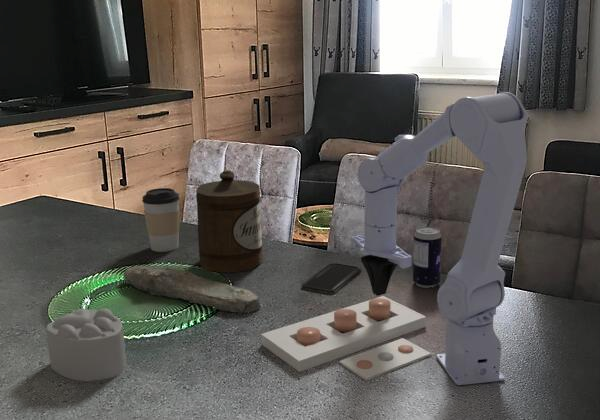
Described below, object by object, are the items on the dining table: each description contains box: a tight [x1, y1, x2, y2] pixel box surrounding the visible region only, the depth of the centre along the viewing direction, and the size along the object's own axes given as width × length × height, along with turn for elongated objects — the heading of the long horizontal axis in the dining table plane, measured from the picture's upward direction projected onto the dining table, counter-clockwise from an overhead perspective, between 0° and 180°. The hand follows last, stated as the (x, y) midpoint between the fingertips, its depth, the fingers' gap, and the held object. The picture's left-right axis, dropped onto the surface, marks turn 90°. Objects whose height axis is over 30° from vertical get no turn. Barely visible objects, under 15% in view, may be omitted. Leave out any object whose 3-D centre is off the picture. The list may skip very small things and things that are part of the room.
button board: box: [260, 295, 427, 373], centre depth 123 cm, size 28×12×2 cm, turn 124°
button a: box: [369, 297, 391, 321], centre depth 126 cm, size 4×4×2 cm
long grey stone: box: [123, 265, 261, 314], centre depth 142 cm, size 35×5×10 cm
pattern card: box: [338, 337, 432, 382], centre depth 114 cm, size 14×7×1 cm, turn 124°
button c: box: [297, 327, 320, 347], centre depth 118 cm, size 4×4×2 cm
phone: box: [301, 262, 362, 295], centre depth 149 cm, size 8×1×15 cm
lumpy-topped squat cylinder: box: [45, 307, 128, 382], centre depth 114 cm, size 10×13×9 cm
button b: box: [334, 308, 357, 332], centre depth 122 cm, size 4×4×2 cm
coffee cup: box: [141, 187, 180, 253], centre depth 170 cm, size 9×9×15 cm
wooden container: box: [195, 170, 263, 273], centre depth 158 cm, size 15×15×22 cm
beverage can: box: [412, 226, 442, 289], centre depth 143 cm, size 6×6×12 cm
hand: (379, 293), depth 125 cm, fingers closed
